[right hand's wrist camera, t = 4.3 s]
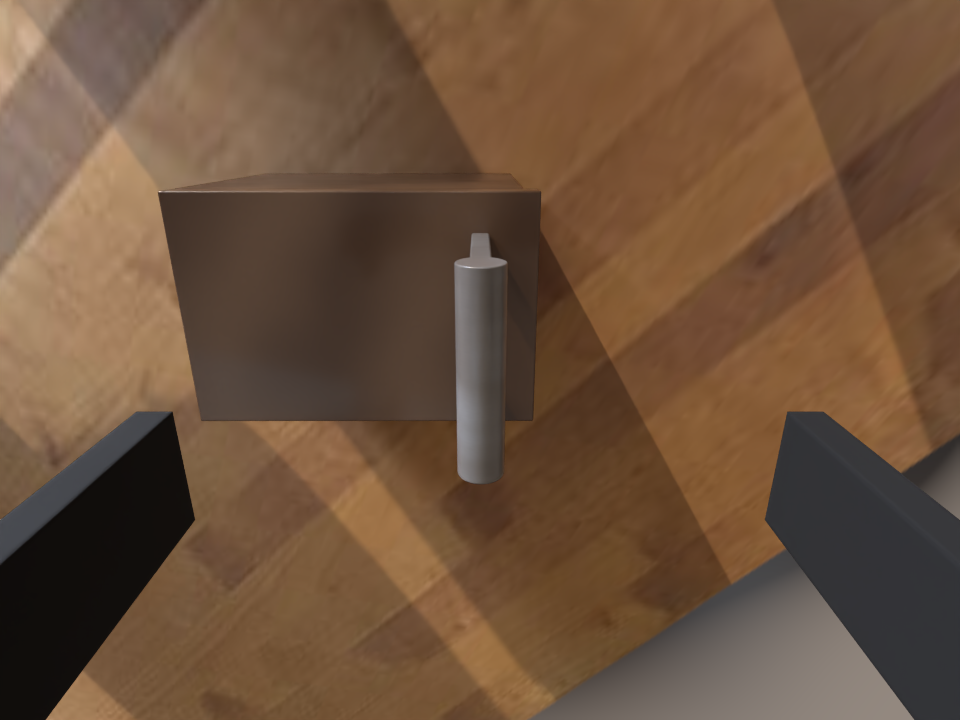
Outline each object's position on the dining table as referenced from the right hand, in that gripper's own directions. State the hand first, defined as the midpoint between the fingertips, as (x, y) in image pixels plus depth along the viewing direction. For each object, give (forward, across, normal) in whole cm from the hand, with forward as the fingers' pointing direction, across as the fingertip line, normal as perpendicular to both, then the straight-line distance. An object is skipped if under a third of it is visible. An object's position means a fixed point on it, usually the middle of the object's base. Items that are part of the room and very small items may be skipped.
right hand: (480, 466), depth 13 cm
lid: (+13, -5, 0) cm, 14 cm away
